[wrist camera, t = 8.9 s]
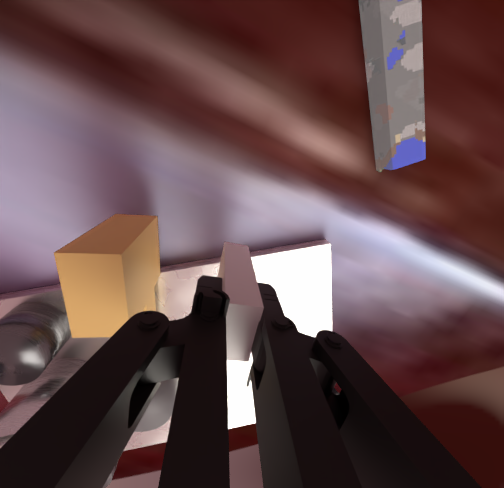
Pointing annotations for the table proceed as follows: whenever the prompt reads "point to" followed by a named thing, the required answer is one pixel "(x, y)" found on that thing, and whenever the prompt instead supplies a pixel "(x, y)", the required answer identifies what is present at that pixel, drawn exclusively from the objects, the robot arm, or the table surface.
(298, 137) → the table surface
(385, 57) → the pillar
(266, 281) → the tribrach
